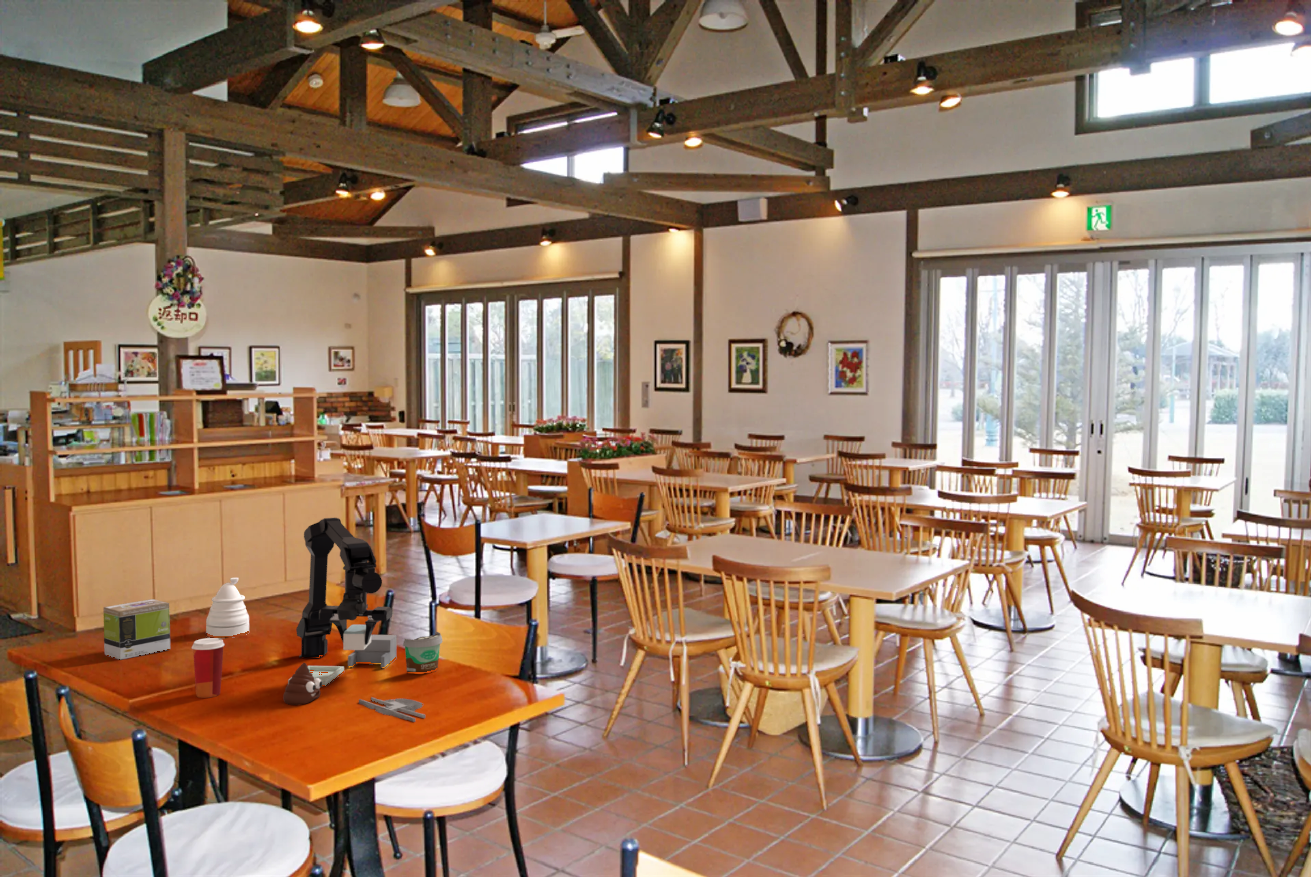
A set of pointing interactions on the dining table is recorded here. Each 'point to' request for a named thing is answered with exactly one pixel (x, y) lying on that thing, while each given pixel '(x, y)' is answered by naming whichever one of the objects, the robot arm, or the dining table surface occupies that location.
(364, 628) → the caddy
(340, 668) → the tray
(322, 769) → the dining table surface
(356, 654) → the bay
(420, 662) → the food container
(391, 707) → the grey toy spaceship
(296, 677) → the poop emoji
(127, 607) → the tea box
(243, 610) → the honey pot
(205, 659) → the paper cup
